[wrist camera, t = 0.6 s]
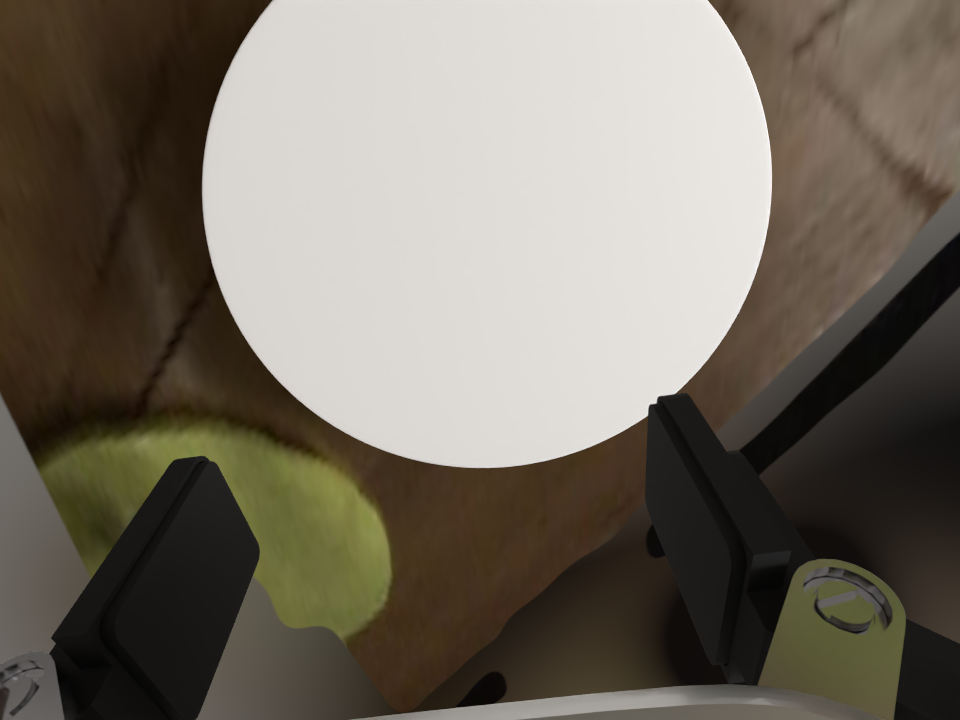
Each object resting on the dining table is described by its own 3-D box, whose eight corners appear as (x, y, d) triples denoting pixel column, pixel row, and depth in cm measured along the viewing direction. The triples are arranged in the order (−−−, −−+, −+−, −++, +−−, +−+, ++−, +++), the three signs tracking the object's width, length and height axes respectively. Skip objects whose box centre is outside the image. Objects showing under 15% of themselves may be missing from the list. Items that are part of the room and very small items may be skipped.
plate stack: (725, 286, 41) (812, 362, 31) (406, 421, 46) (392, 523, 36) (608, -163, 28) (691, -284, 18) (181, 99, 33) (62, 119, 23)
